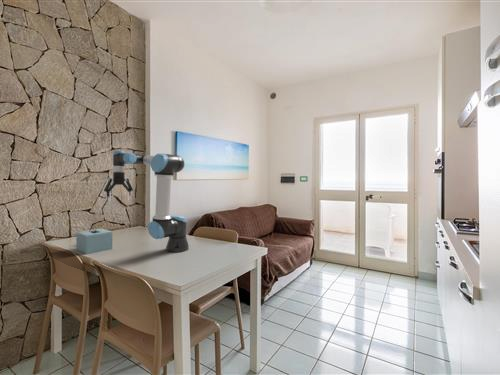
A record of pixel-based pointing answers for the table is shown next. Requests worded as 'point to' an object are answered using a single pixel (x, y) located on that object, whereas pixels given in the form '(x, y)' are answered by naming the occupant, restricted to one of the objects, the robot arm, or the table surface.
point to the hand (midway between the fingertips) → (118, 200)
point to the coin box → (93, 240)
